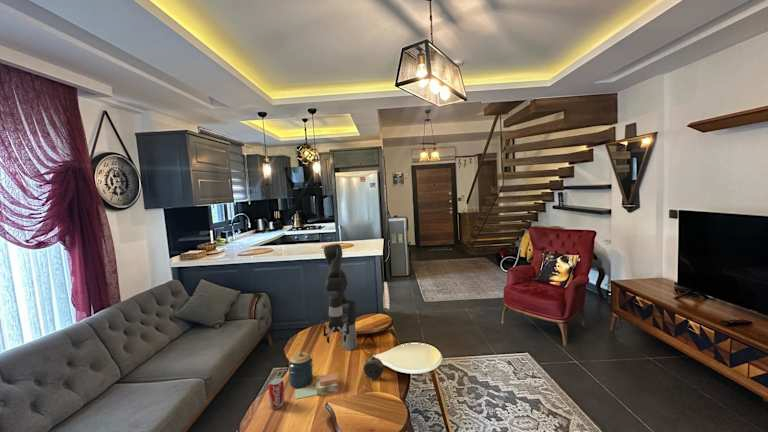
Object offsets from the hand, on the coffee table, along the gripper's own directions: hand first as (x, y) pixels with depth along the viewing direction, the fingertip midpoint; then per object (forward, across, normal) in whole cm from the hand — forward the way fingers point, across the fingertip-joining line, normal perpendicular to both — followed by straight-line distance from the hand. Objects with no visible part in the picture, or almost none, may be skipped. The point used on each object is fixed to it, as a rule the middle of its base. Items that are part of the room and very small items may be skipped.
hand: (336, 342), depth 177 cm
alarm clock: (+23, -20, +2) cm, 31 cm away
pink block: (+19, +5, +4) cm, 21 cm away
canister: (+24, +20, -5) cm, 32 cm away
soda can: (+24, +31, +13) cm, 41 cm away
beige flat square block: (+23, +6, +4) cm, 25 cm away
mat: (+24, +17, +6) cm, 30 cm away
